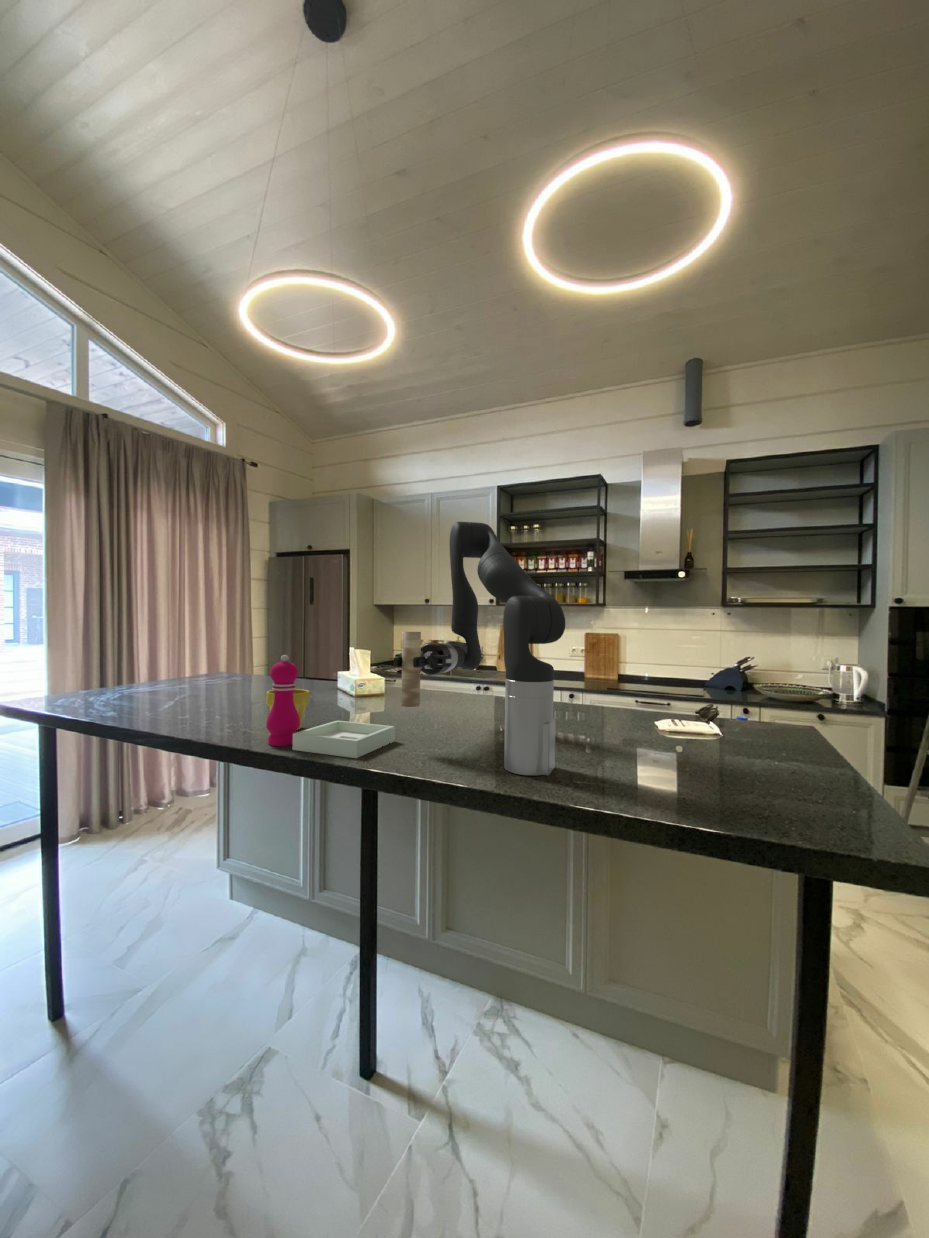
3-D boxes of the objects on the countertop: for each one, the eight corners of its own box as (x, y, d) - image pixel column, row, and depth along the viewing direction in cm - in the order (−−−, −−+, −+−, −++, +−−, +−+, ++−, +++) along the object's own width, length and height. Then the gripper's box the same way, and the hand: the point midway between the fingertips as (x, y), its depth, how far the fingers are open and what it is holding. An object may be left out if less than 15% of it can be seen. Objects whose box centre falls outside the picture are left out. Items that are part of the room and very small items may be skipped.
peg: (422, 704, 109) (423, 631, 109) (414, 707, 105) (415, 631, 105) (406, 703, 110) (407, 631, 111) (398, 706, 106) (399, 631, 107)
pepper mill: (304, 739, 116) (306, 654, 116) (291, 747, 109) (293, 656, 109) (275, 738, 116) (277, 653, 117) (259, 746, 109) (261, 655, 109)
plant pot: (312, 725, 132) (313, 688, 132) (302, 733, 122) (303, 693, 122) (273, 725, 132) (273, 688, 132) (259, 733, 121) (260, 693, 121)
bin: (394, 741, 116) (394, 726, 116) (356, 758, 101) (356, 740, 101) (336, 734, 122) (337, 720, 122) (292, 749, 107) (292, 733, 107)
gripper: (412, 642, 124) (376, 643, 108) (465, 643, 119) (436, 645, 103) (411, 672, 124) (375, 678, 108) (465, 674, 119) (435, 681, 103)
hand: (405, 662), depth 105 cm, fingers closed on peg, 4 cm apart
